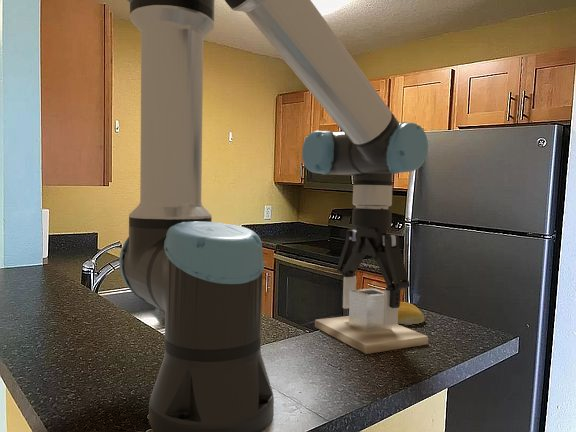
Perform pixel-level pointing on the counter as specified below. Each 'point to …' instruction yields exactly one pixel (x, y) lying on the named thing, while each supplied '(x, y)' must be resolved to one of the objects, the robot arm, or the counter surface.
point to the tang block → (371, 336)
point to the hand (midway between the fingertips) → (368, 315)
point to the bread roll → (409, 314)
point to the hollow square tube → (367, 310)
